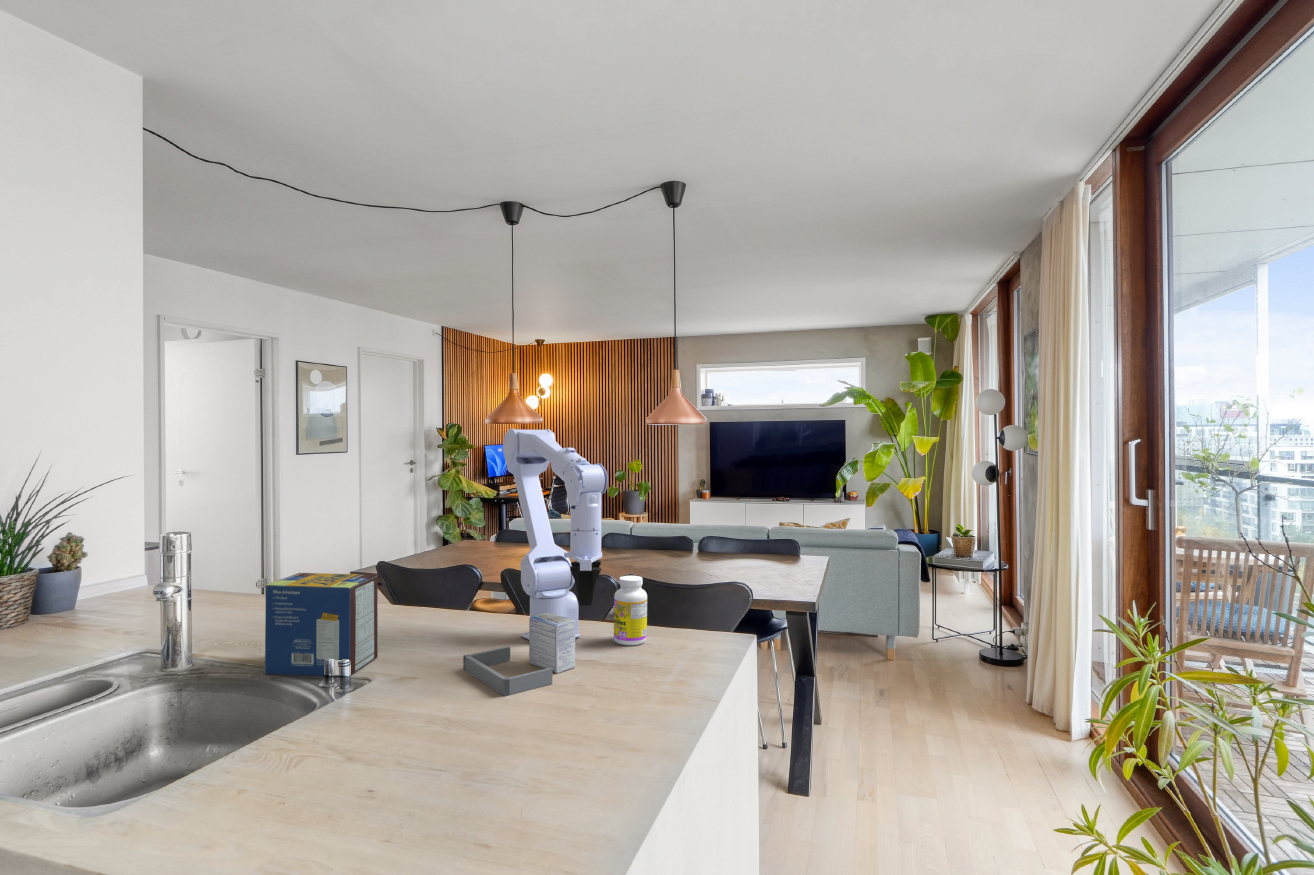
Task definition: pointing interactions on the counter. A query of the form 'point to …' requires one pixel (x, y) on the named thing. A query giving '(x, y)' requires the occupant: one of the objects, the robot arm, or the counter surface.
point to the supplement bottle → (630, 612)
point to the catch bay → (506, 686)
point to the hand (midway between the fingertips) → (585, 602)
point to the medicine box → (552, 642)
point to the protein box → (320, 622)
